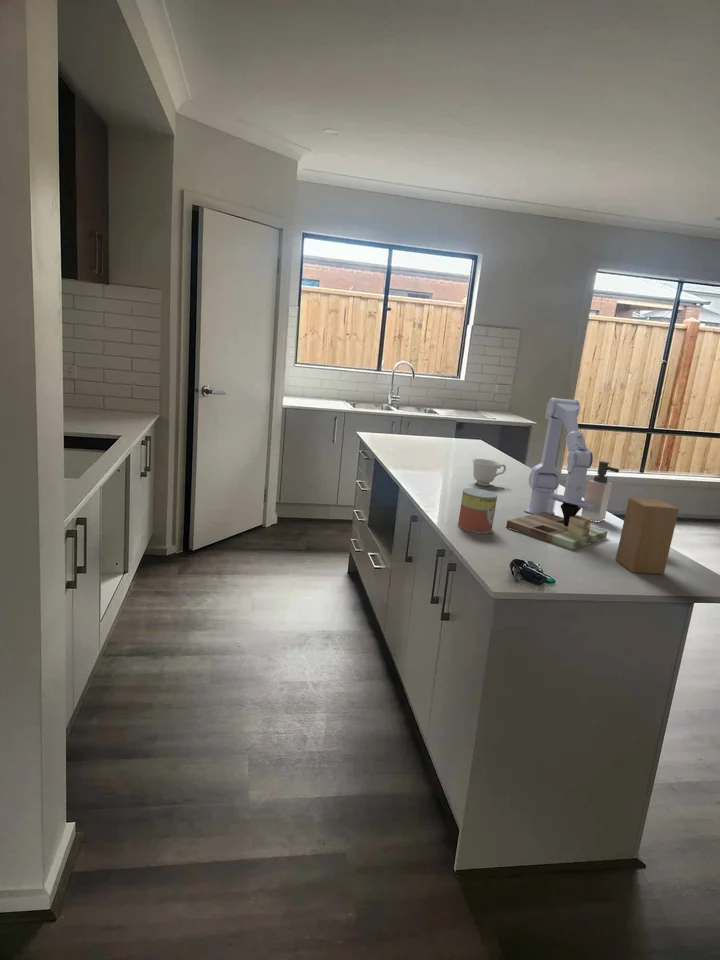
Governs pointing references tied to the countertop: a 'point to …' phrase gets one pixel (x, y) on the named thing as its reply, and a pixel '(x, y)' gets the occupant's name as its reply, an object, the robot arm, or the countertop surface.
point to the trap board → (554, 530)
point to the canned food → (477, 510)
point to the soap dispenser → (598, 493)
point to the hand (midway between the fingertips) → (567, 525)
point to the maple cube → (579, 525)
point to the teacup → (486, 471)
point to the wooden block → (646, 535)
